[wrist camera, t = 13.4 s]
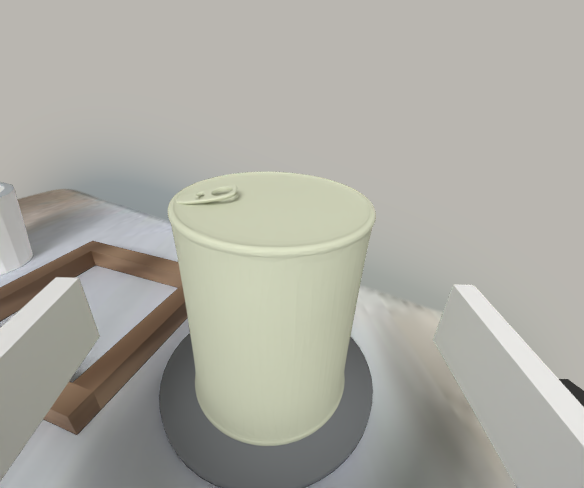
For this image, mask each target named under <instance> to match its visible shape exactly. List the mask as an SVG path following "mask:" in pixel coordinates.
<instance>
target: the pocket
mask: <svg viewBox="0 0 584 488" xmlns="http://www.w3.org/2000/svg"><path fill="white" fill-rule="evenodd" d="M95 265H97V266H101V267H105V268H108V269H112V270H115V271H119V272H123V273H126V274H130V275H134V276H137V277H141V278H145V279H148V280H152V281H155V282H159V283H163V284H166V285H170V286H174V287H177V288H178V289H177V290H176V291H174V292H173V293H172V294H171V295H170V296H169V297H168V298H167V299H166V300H164V301H163V302H162V303H161V304H160V305H159V306H158V307H157V308H155V309H154V310H153V311H152V312H151V313H150V314H149V315H148V316H147V317H145V318H144V319H143V320H142V321H141V322H140V323H139V324H138V325H136V326H135V327H134V328H133V329H132V330H131V331H130V332H129V333H128V334H126V335H125V336H124V337H123V338H122V339H121V340H120V341H119V342H117V343H116V344H115V345H114V346H113V347H112V348H111V349H110V350H109V351H107V352H106V353H105V354H104V355H103V356H102V357H101V358H100V359H98V360H97V361H96V362H95V363H94V364H93V365H92V366H91V367H90V368H88V369H87V370H86V371H85V372H84V373H83V374H82V375H81V376H79V377H78V378H77V379H76V380H75V381H74V382H73V383H71V382H68V384H67V385H66V387H65V388H64V389H63V391H62V392H61V394H60V395H59V397H58V398H57V400H56V401H55V403H54V404H53V405H52V407H51V408H50V410H49V411H48V413H47V414H46V416H45V417H44V420H46V421H48V422H50V423H52V424H55V425H57V426H59V427H61V428H63V429H65V430H67V431H69V432H72V433H74V434H76V435H77V434H78V433H79V432H80V431H81V430H82V429H83V428H84V427H85V426H86V425H87V424H88V423H89V422H90V421H91V420H92V418H93V417H94V416H95V415H96V414H97V413H98V412H99V411H100V410H101V409H102V408H103V407H104V406H105V405H106V404H107V403H108V401H109V400H110V399H111V398H112V397H113V396H114V395H115V394H116V393H117V392H118V391H119V390H120V389H121V388H122V387H123V386H124V384H125V383H126V382H127V381H128V380H129V379H130V378H131V377H132V376H133V375H134V374H135V373H136V372H137V371H138V370H139V369H140V367H141V366H142V365H143V364H144V363H145V362H146V361H147V360H148V359H149V358H150V357H151V356H152V355H153V354H154V353H155V352H156V351H157V349H158V348H159V347H160V346H161V345H162V344H163V343H164V342H165V341H166V340H167V339H168V338H169V337H170V336H171V335H172V334H173V332H174V331H175V330H176V329H177V328H178V327H179V326H180V325H181V324H182V323H183V322H184V321H185V320H186V319H187V318H188V316H187V310H186V303H185V298H184V292H183V286H182V280H181V274H180V268H179V263H178V262H176V261H172V260H168V259H164V258H160V257H156V256H151V255H147V254H143V253H139V252H135V251H131V250H127V249H123V248H119V247H115V246H111V245H107V244H103V243H99V242H95V241H91V242H89V243H87V244H85V245H83V246H81V247H79V248H77V249H75V250H73V251H71V252H69V253H67V254H65V255H63V256H62V257H60V258H58V259H56V260H54V261H52V262H50V263H48V264H46V265H44V266H42V267H40V268H38V269H36V270H34V271H32V272H30V273H28V274H26V275H24V276H22V277H20V278H18V279H16V280H14V281H12V282H10V283H8V284H6V285H4V286H2V287H0V321H1V320H3V319H5V318H6V317H8V316H10V315H11V314H13V313H15V312H17V311H18V310H20V309H22V308H23V307H24V306H25V305H26V304H27V303H28V302H29V301H31V300H32V299H33V298H34V297H35V296H36V295H37V294H38V293H39V292H40V291H41V290H43V289H44V288H45V287H46V286H47V285H48V284H49V283H50V282H51V281H52V280H54V279H55V278H56V277H64V278H74V277H76V276H78V275H79V274H81V273H83V272H85V271H86V270H88V269H90V268H91V267H93V266H95Z"/></svg>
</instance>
